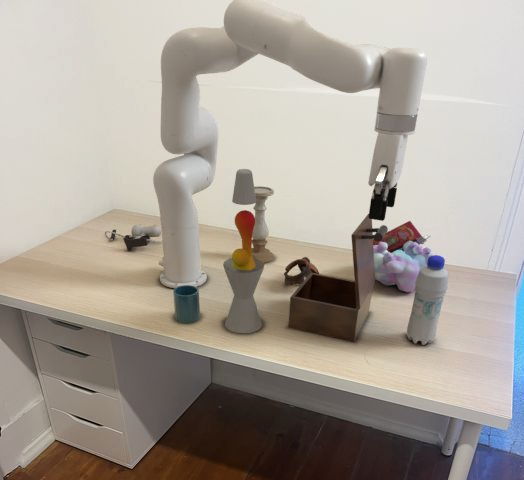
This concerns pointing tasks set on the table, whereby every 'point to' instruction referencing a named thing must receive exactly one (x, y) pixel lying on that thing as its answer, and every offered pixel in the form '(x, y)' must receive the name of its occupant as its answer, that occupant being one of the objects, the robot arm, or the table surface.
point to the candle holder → (261, 225)
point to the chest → (328, 307)
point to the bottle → (428, 300)
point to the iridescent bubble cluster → (400, 257)
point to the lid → (365, 257)
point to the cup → (186, 303)
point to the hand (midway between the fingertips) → (381, 212)
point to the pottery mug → (304, 268)
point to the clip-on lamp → (138, 236)
